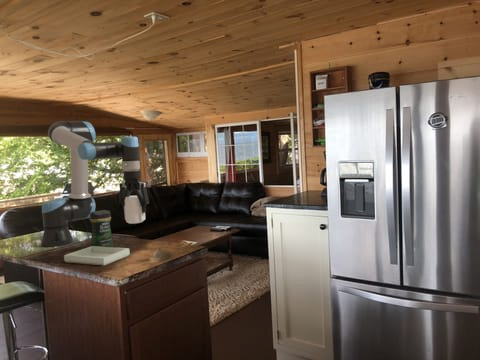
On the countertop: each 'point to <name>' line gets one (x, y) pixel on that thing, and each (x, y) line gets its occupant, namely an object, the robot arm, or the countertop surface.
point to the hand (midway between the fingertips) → (135, 219)
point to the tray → (97, 255)
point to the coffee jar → (101, 228)
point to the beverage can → (132, 210)
